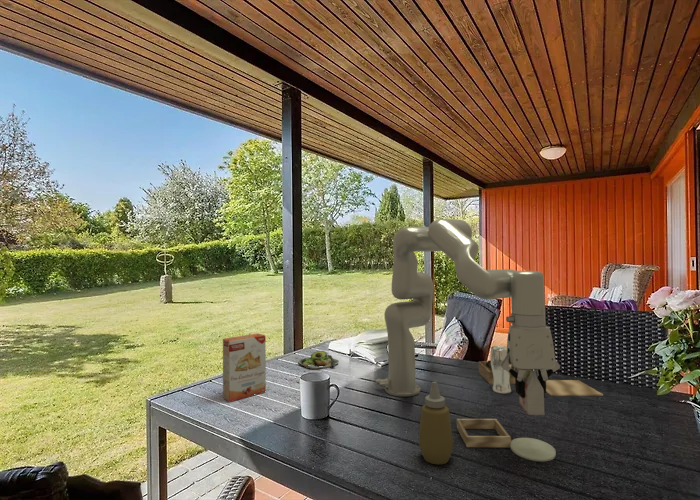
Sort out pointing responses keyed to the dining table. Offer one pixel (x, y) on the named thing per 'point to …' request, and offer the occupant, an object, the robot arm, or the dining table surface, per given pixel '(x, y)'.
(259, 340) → the cracker box
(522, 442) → the coaster
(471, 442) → the holder
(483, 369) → the display tray
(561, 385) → the wooden board
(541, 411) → the gable top carton
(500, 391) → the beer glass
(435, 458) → the squeeze bottle
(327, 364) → the salad plate
